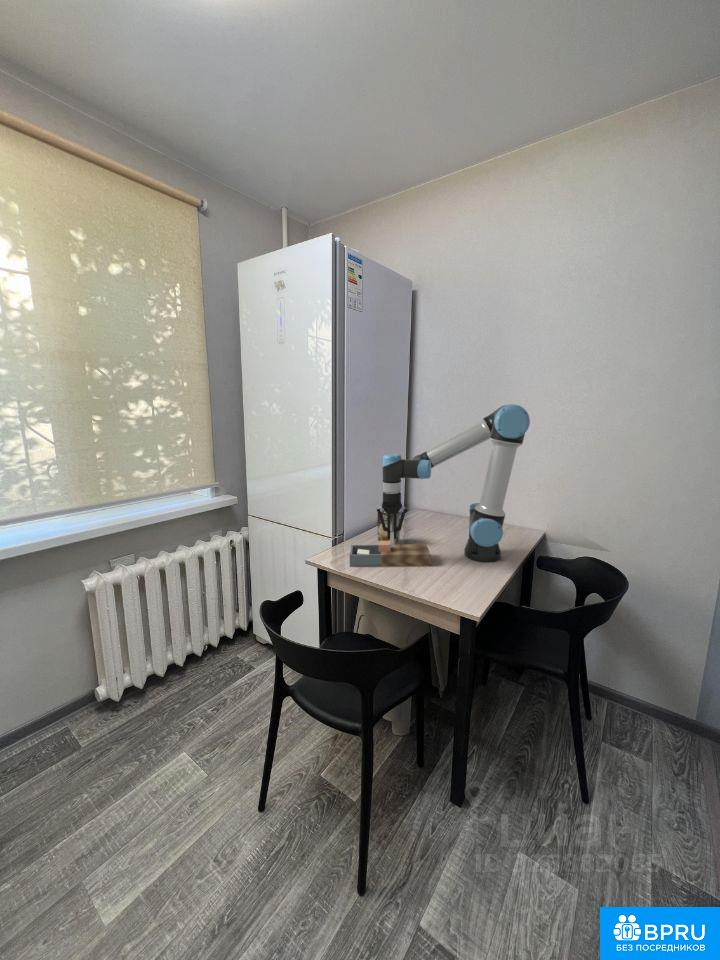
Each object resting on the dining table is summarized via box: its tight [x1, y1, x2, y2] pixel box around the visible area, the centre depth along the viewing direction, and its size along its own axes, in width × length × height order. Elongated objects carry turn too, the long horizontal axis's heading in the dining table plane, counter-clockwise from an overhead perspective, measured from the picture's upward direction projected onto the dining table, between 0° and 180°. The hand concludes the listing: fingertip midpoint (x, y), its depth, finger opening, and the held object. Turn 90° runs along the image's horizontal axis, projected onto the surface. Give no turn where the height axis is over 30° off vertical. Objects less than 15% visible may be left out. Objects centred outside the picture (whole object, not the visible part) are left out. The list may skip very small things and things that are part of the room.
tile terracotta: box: [377, 540, 391, 552], centre depth 162 cm, size 5×5×3 cm
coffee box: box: [377, 509, 401, 545], centre depth 182 cm, size 9×6×16 cm
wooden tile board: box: [381, 543, 432, 567], centre depth 163 cm, size 20×12×5 cm, turn 88°
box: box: [349, 544, 381, 568], centre depth 164 cm, size 13×12×5 cm
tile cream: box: [357, 549, 369, 554], centre depth 164 cm, size 5×5×3 cm
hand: (391, 546), depth 162 cm, fingers closed
